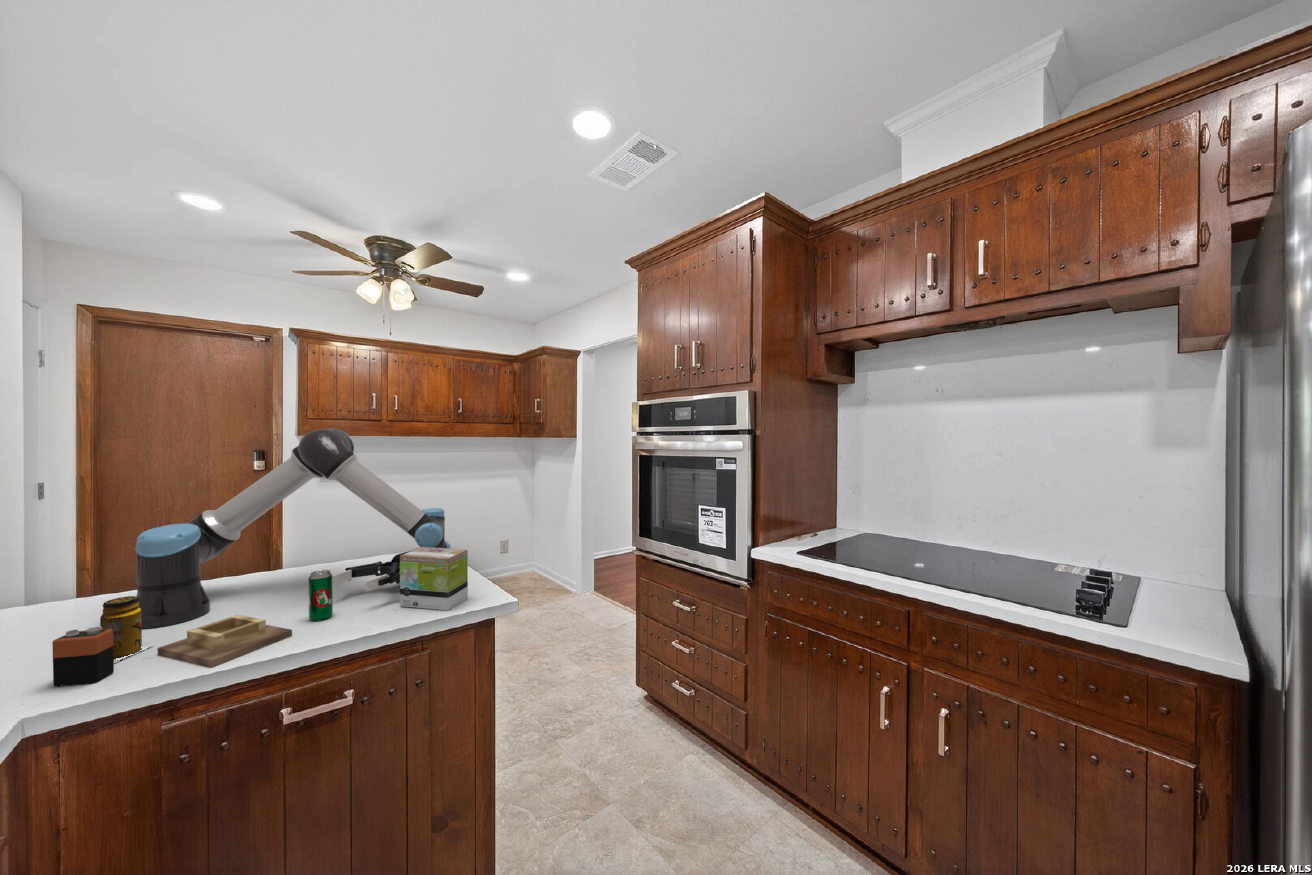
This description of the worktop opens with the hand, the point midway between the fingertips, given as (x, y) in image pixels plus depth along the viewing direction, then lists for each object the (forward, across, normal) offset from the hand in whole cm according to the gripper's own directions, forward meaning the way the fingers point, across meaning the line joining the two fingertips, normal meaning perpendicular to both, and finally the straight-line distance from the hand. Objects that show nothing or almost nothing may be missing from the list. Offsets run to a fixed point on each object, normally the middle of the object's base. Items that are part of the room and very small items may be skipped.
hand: (347, 583), depth 131 cm
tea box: (-11, -20, -7) cm, 24 cm away
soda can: (+7, 0, -7) cm, 10 cm away
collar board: (+25, +6, -7) cm, 27 cm away
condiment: (+36, +23, -7) cm, 43 cm away
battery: (+44, +15, -7) cm, 47 cm away
